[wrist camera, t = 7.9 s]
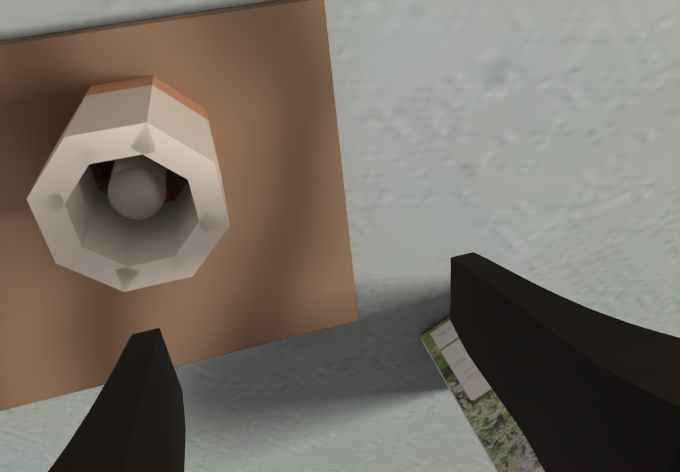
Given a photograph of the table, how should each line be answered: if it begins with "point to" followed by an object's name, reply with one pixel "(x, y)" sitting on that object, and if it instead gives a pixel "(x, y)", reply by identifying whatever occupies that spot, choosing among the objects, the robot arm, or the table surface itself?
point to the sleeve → (92, 187)
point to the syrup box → (479, 402)
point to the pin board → (152, 180)
